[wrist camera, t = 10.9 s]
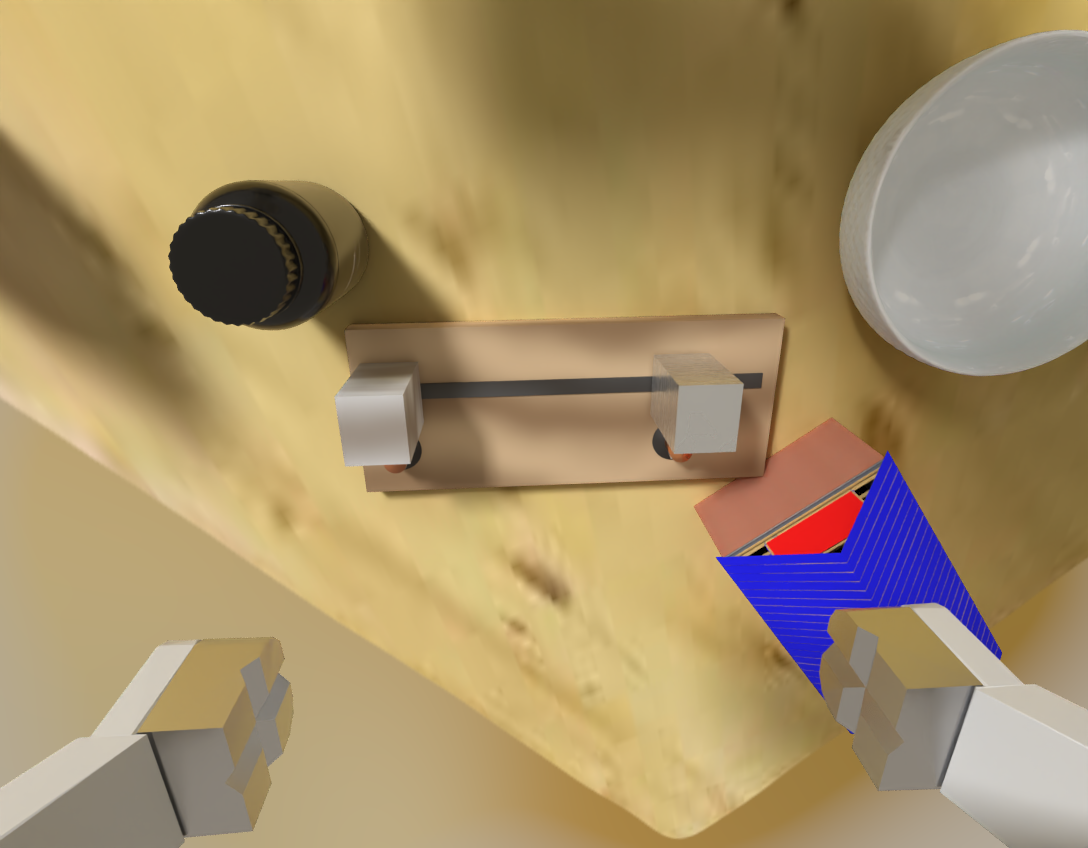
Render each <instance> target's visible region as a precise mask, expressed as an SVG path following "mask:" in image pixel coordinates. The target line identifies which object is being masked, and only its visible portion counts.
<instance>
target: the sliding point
mask: <svg viewBox="0 0 1088 848" xmlns="http://www.w3.org/2000/svg"><path fill="white" fill-rule="evenodd" d="M743 386H744V384H743V383H742V382H741V381H740V380H739V379H738V378H737V377H735V376H734V375H733V374H732V373H731V372H730V371H729V370H728V369H726V368H725V367H724V366H723V365H722V364H721V363H720V362H719V361H717V360H716V359H715V358H714V357H713V356H712V355H711V354H710V353H696V354H662V355H654V359H653V377H652V394H651V412H650V415H651V416H652V418H653V420H654V421H655V423H656V425H657V426H658V428H659V430H660V431H661V433H662V435H663V437H664V438H665V447H666V449H667V450H668V455H669V456H670V458H671V459H673V460H674V461H676V462H679V463H682V462H685V461H687V460H689V459H690V458H691V456H692V453H714V452H736V445H737V437H738V428H739V420H740V411H741V403H742V394H743Z"/></svg>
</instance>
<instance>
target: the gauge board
mask: <svg viewBox="0 0 1088 848" xmlns="http://www.w3.org/2000/svg"><path fill="white" fill-rule="evenodd" d="M784 323H785V318H783V317H782V316H780V315H778V314H776V313H766V314H728V315H690V316H652V317H614V318H576V319H539V320H501V321H463V322H425V323H387V324H350V325H349V326H348V327H347V328H346V329H345V330H344V333H345V340H346V347H347V354H348V361H349V368H350V375H351V376H350V377H349V379H348V380H347V381H346V383H345V384H344V385H343V387H342V388H341V389H340V391H339V392H338V393H337V394H336V396H335V403H336V409H337V416H338V422H339V429H340V435H341V442H342V448H343V455H344V461H345V466H363V467H364V475H365V482H366V489H367V492H381V491H406V490H431V489H456V488H481V487H506V486H532V485H557V484H582V483H607V482H632V481H657V480H682V479H708V478H733V477H758V476H763V474H764V467H765V460H766V453H767V446H768V438H769V431H770V424H771V417H772V410H773V402H774V395H775V388H776V381H777V374H778V366H779V359H780V352H781V345H782V338H783V330H784ZM696 353H710V354H711V355H712V356H713V357H714V358H715V359H716V360H717V361H719V362H720V363H721V364H722V365H723V366H724V367H725V368H726V369H728V370H729V371H730V372H731V373H732V374H733V375H734V376H735V377H737V378H738V379H739V380H740V381H741V382H742V383H743V384H744V386H743V394H742V403H741V411H740V420H739V428H738V437H737V445H736V452H714V453H692V456H691V458H690V459H689V460H687V461H685V462H682V463H679V462H676V461H674V460H673V459H671V458H670V456H669V455H668V450H667V449H666V447H665V438H664V437H663V435H662V433H661V431H660V430H659V428H658V426H657V425H656V423H655V421H654V420H653V418H652V416H651V415H650V412H651V394H652V377H653V359H654V355H662V354H696Z"/></svg>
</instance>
